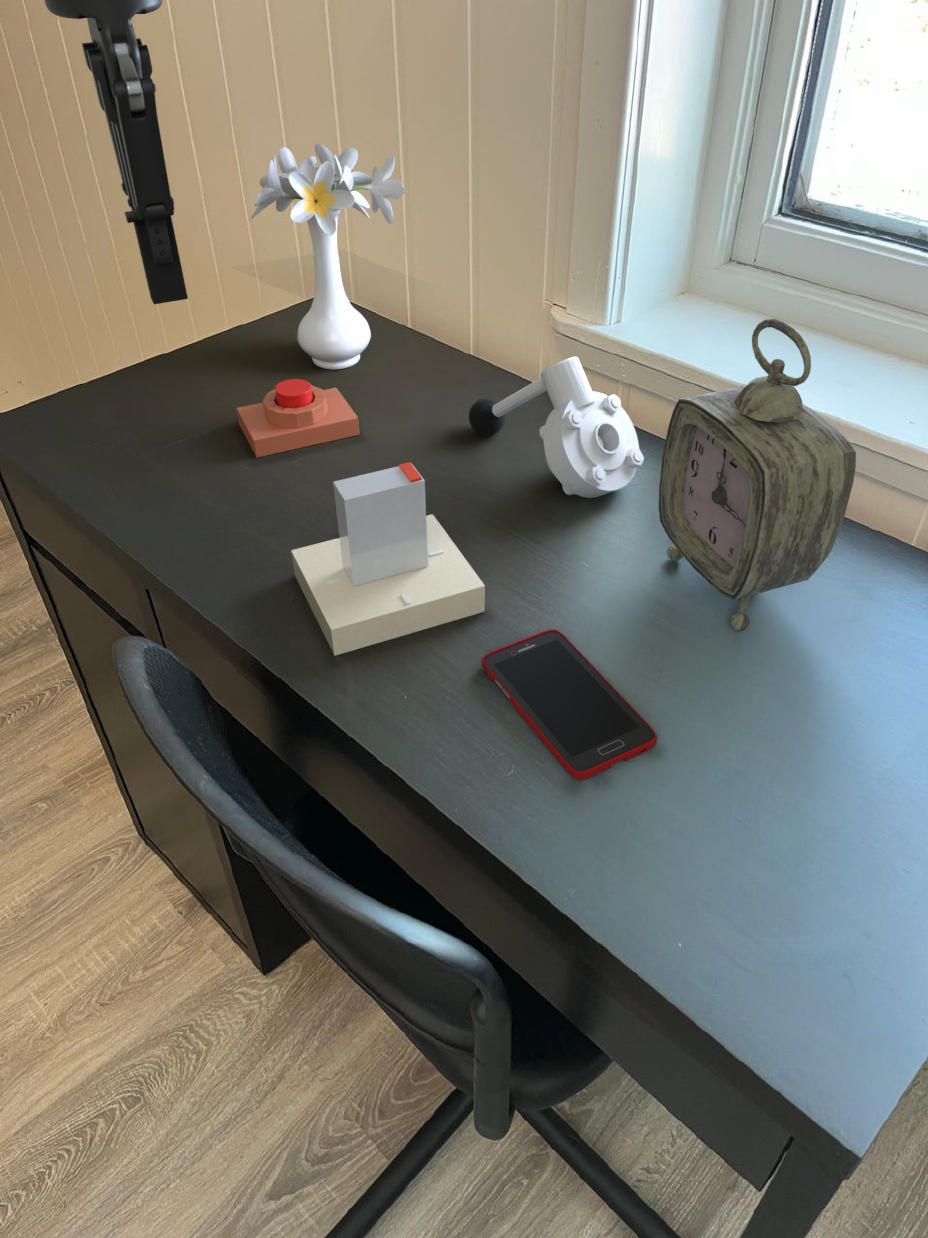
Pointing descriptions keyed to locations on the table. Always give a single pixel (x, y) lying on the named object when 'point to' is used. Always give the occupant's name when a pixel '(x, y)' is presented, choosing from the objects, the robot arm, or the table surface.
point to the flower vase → (328, 241)
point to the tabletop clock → (754, 482)
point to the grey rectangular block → (382, 523)
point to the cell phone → (568, 703)
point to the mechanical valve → (574, 430)
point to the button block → (297, 422)
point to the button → (294, 393)
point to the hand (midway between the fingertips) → (169, 297)
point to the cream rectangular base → (387, 593)
